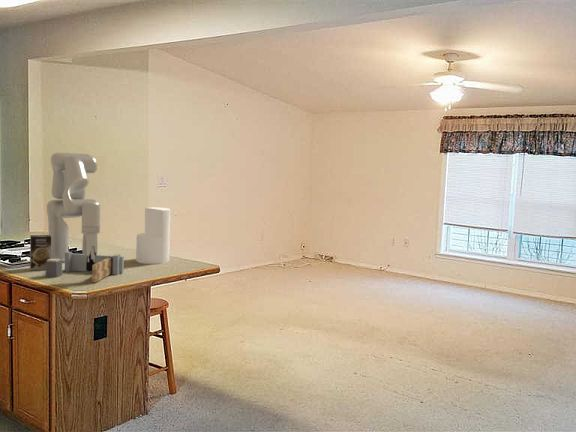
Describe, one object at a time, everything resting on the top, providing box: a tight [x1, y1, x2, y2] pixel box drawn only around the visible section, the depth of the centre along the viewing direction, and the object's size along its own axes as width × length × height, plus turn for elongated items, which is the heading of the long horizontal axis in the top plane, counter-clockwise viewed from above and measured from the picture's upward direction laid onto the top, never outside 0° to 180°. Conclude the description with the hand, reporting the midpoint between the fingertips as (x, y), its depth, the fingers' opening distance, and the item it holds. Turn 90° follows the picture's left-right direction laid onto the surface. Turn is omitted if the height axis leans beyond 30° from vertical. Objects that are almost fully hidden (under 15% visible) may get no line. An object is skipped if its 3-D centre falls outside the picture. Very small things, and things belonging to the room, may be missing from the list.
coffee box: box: [29, 234, 51, 271], centre depth 264 cm, size 9×6×16 cm
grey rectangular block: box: [45, 258, 63, 278], centre depth 251 cm, size 5×5×8 cm
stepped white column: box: [135, 206, 171, 265], centre depth 295 cm, size 17×17×28 cm
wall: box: [64, 251, 125, 276], centre depth 262 cm, size 28×4×9 cm, turn 85°
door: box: [91, 255, 113, 283], centre depth 251 cm, size 20×2×8 cm, turn 177°
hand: (90, 270), depth 244 cm, fingers closed
